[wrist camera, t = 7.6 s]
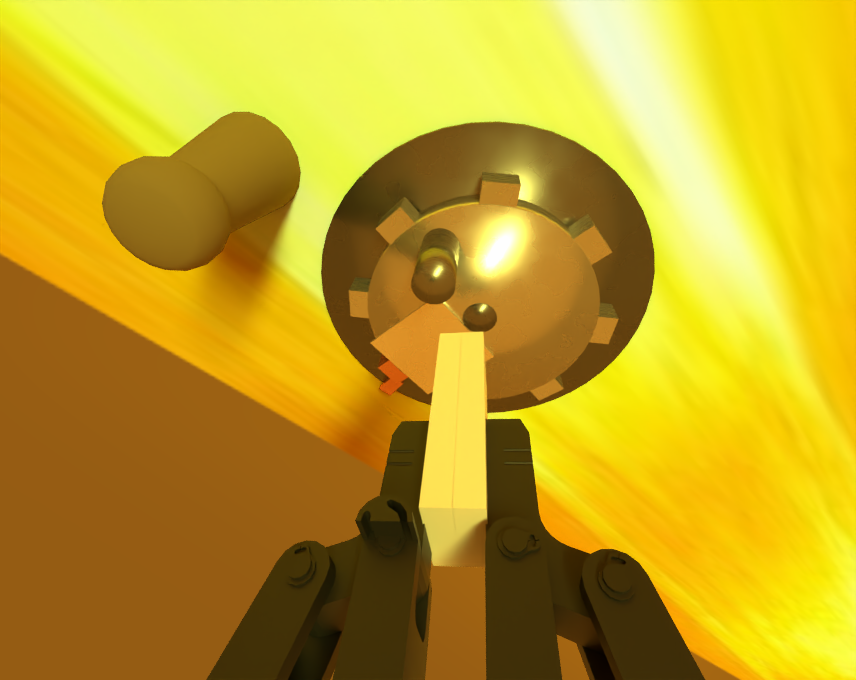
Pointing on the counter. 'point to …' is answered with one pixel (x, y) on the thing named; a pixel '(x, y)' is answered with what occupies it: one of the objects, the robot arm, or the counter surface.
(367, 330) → the plate
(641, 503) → the counter surface
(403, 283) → the sprocket
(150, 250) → the pepper mill
